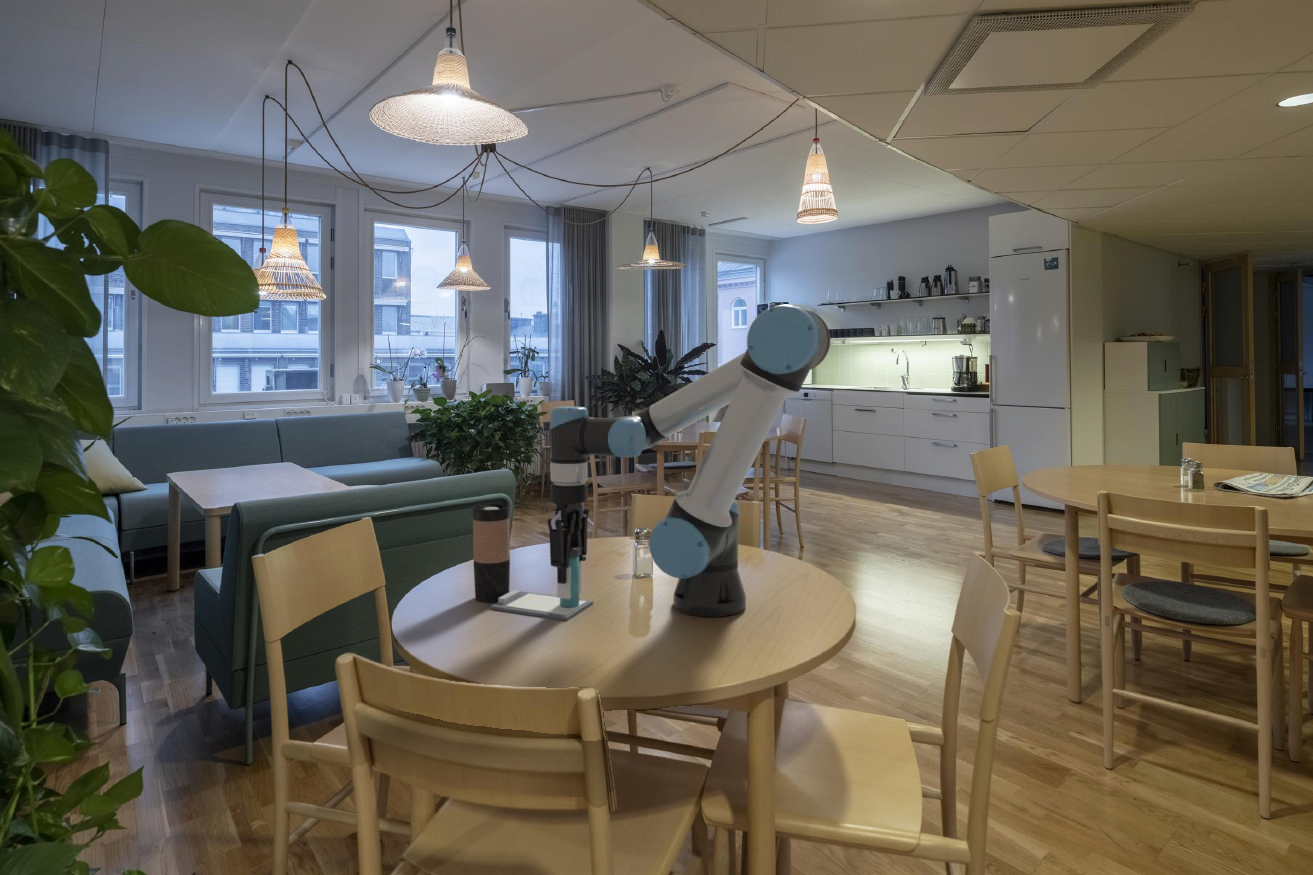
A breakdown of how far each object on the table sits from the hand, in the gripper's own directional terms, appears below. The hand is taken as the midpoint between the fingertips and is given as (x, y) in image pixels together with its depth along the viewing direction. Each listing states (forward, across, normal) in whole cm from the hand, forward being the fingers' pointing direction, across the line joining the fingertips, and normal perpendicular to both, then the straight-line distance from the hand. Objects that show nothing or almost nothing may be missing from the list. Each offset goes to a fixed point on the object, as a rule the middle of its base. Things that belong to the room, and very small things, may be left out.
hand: (569, 594), depth 151 cm
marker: (+2, 0, 0) cm, 2 cm away
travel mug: (+3, 0, -19) cm, 19 cm away
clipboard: (+3, +1, -6) cm, 7 cm away
